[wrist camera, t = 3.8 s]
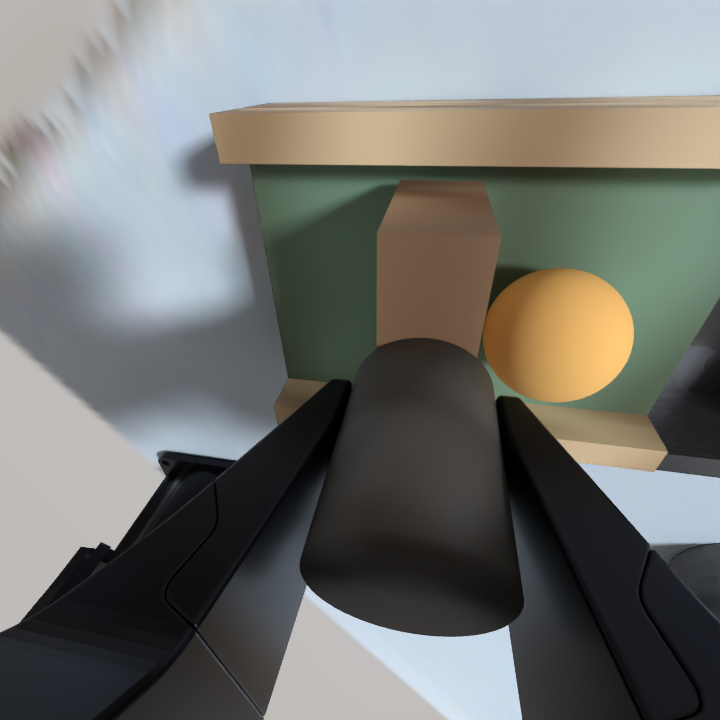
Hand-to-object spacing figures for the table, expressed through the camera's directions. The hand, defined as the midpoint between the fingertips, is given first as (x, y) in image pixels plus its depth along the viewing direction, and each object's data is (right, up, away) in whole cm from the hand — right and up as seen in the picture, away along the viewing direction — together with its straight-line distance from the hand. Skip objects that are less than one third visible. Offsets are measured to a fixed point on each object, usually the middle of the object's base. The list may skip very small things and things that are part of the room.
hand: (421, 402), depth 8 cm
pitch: (+3, +4, +5) cm, 7 cm away
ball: (+4, +3, +3) cm, 6 cm away
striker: (+1, +3, +4) cm, 5 cm away
